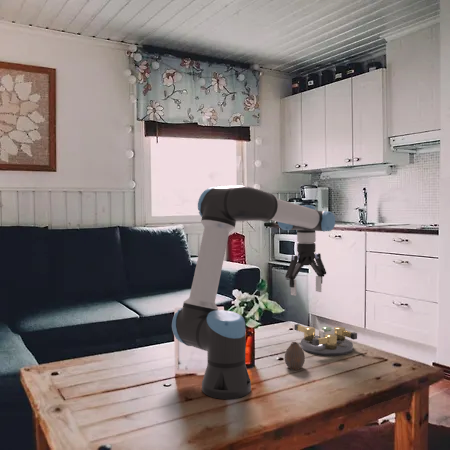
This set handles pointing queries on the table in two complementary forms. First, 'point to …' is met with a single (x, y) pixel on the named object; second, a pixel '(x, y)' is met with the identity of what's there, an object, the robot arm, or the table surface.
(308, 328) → the knob
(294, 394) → the table surface
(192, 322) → the robot arm
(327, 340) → the knob
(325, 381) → the table surface
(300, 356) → the brown egg-shaped piece
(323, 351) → the levelling base
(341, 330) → the brass elongated piece
